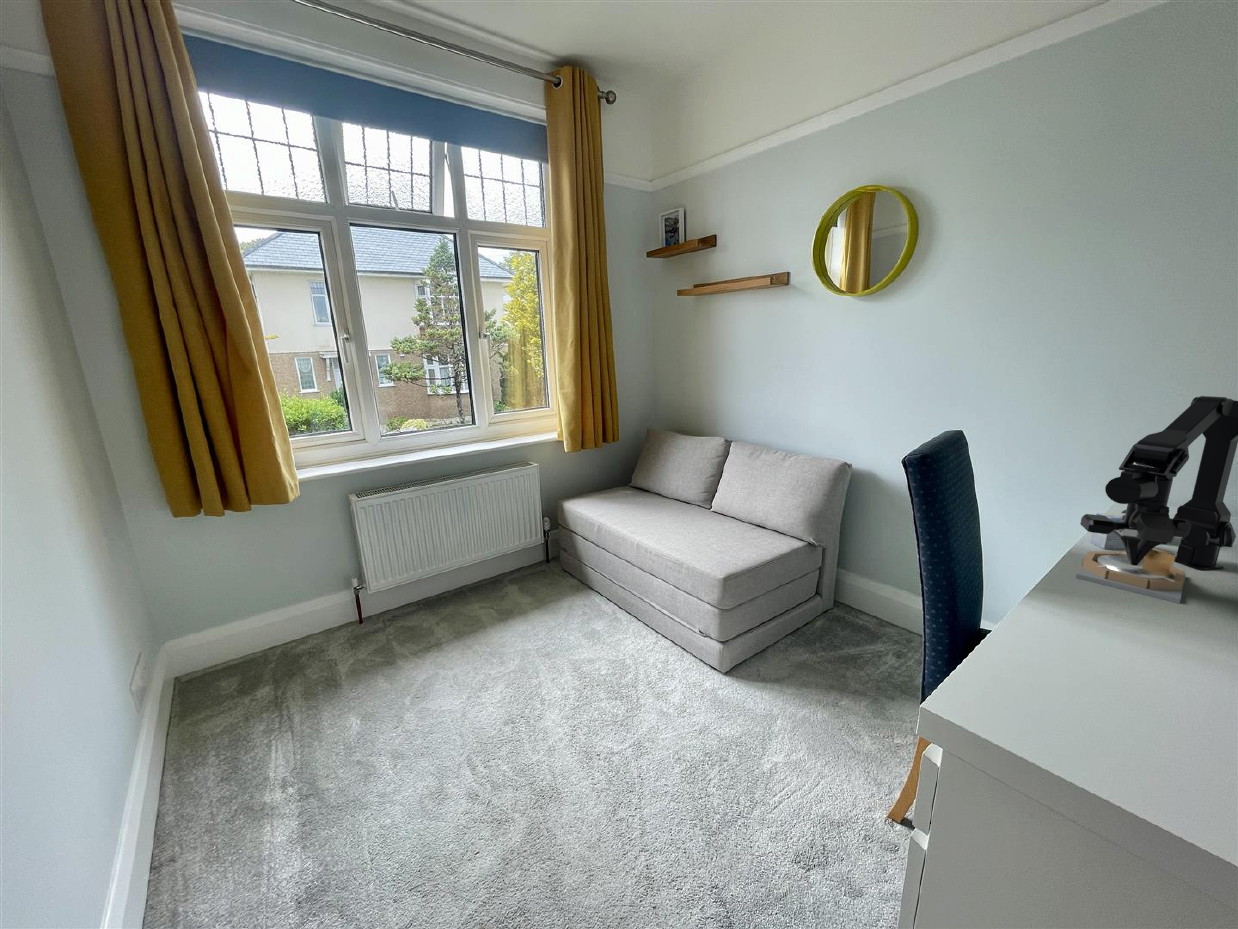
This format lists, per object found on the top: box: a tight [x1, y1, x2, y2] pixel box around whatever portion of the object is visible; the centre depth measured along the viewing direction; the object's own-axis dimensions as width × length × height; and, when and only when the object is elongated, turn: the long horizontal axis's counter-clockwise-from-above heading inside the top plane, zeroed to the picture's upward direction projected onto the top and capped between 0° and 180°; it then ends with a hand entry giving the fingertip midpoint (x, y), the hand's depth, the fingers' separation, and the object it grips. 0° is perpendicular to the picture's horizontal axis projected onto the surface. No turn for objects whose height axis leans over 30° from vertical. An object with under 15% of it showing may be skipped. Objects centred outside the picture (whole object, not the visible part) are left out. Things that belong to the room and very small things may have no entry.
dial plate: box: [1075, 550, 1187, 604], centre depth 112 cm, size 18×16×3 cm
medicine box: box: [1090, 512, 1138, 550], centre depth 129 cm, size 8×4×9 cm, turn 84°
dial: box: [1097, 547, 1177, 578], centre depth 112 cm, size 12×12×7 cm
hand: (1133, 564), depth 109 cm, fingers closed
